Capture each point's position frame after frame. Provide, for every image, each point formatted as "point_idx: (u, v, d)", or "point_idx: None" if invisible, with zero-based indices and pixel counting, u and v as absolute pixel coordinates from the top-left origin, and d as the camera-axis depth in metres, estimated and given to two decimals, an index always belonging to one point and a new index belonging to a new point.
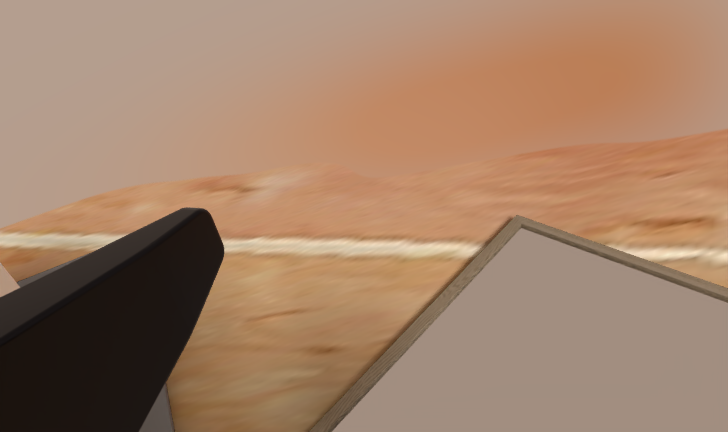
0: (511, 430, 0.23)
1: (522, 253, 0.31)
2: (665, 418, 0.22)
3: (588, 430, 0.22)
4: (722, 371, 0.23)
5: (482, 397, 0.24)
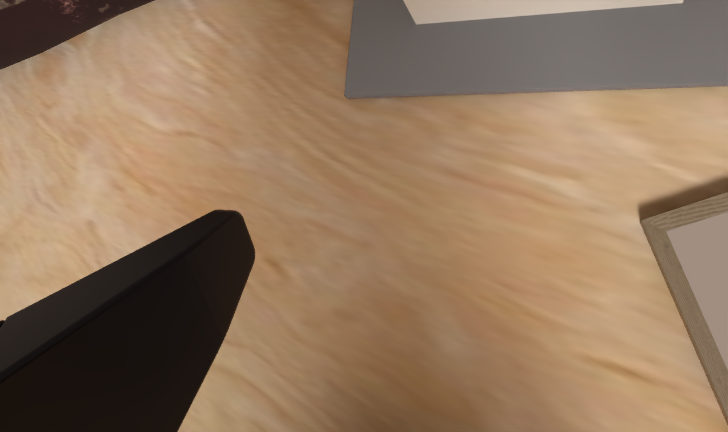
0: None
1: None
2: None
3: None
4: None
5: None
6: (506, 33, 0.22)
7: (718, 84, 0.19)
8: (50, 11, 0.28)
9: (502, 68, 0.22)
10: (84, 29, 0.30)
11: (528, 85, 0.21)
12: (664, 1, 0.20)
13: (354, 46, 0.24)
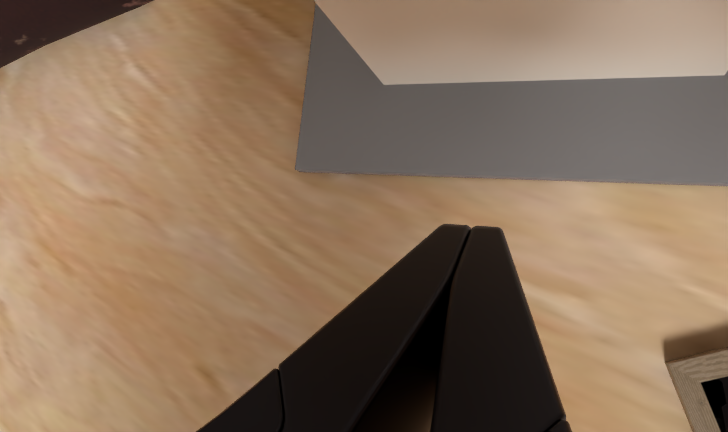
0: None
1: None
2: None
3: None
4: None
5: None
6: (494, 103, 0.17)
7: None
8: None
9: (489, 147, 0.17)
10: (4, 63, 0.26)
11: (522, 172, 0.17)
12: (700, 72, 0.15)
13: (308, 108, 0.20)
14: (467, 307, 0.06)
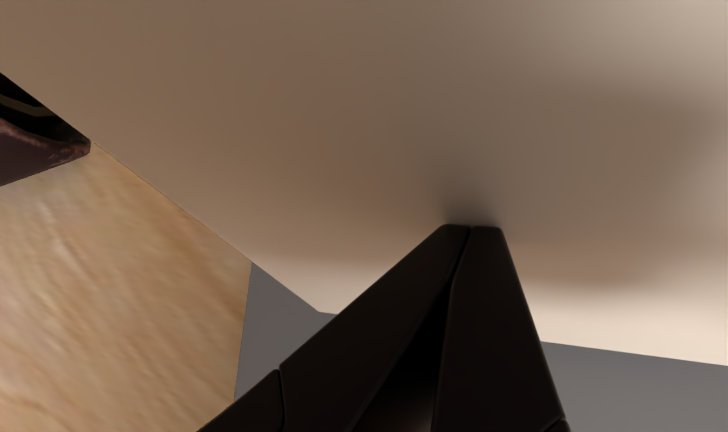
0: None
1: None
2: None
3: None
4: None
5: None
6: None
7: None
8: None
9: None
10: None
11: None
12: (722, 362, 0.11)
13: (249, 332, 0.17)
14: (467, 307, 0.06)
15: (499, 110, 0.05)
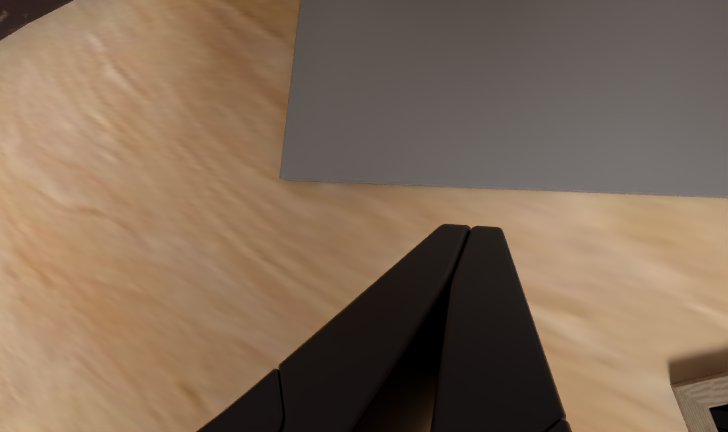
0: None
1: None
2: None
3: None
4: None
5: None
6: (489, 108, 0.16)
7: None
8: None
9: (483, 156, 0.16)
10: None
11: (518, 182, 0.16)
12: None
13: (293, 113, 0.19)
14: (467, 307, 0.06)
15: None
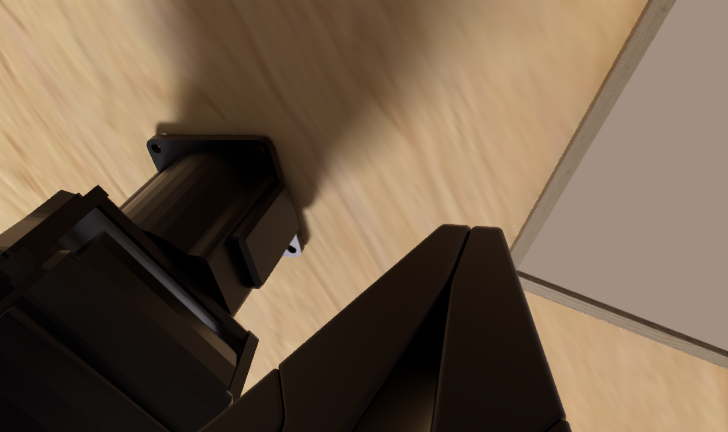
0: None
1: None
2: None
3: None
4: None
5: None
6: None
7: None
8: None
9: None
10: None
11: None
12: None
13: None
14: (467, 307, 0.06)
15: None
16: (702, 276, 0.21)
